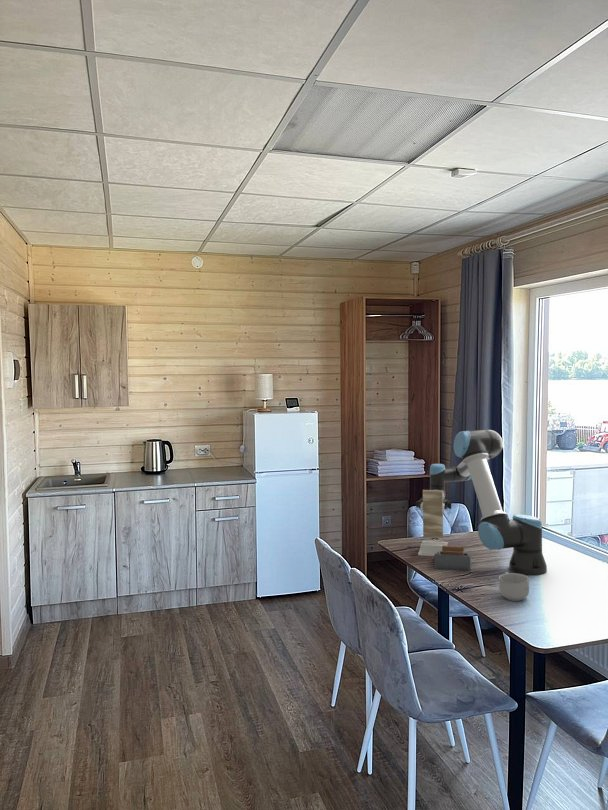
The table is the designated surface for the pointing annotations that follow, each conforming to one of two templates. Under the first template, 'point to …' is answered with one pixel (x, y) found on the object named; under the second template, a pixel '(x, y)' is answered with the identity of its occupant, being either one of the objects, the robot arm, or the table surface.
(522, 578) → the teacup
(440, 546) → the stand
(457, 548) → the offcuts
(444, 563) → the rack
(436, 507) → the birch sheet
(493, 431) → the robot arm
